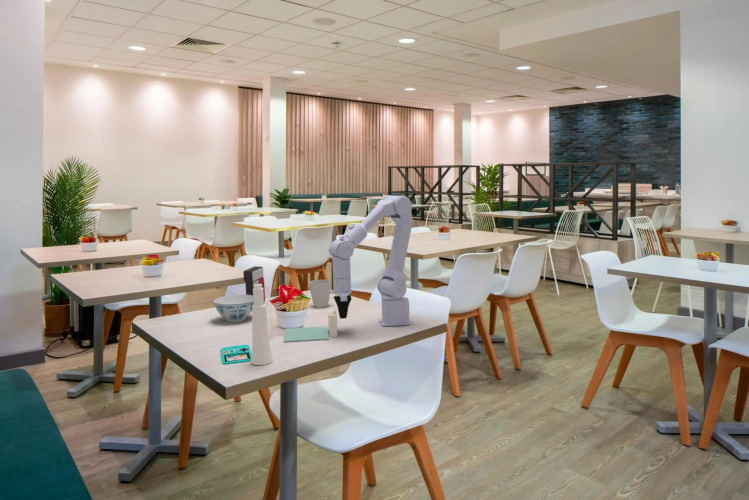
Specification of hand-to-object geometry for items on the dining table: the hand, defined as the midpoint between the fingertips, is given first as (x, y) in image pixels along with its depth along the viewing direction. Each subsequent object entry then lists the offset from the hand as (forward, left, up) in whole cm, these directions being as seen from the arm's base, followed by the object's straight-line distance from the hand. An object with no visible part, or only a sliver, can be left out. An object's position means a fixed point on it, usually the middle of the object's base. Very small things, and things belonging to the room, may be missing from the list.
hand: (343, 317), depth 178 cm
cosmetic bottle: (+24, +24, -5) cm, 35 cm away
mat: (+12, 0, -5) cm, 13 cm away
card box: (+3, 0, -5) cm, 6 cm away
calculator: (+32, -46, -5) cm, 57 cm away
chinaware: (+37, -24, -5) cm, 45 cm away
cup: (+6, -38, -5) cm, 39 cm away
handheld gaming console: (+32, +16, -6) cm, 37 cm away
